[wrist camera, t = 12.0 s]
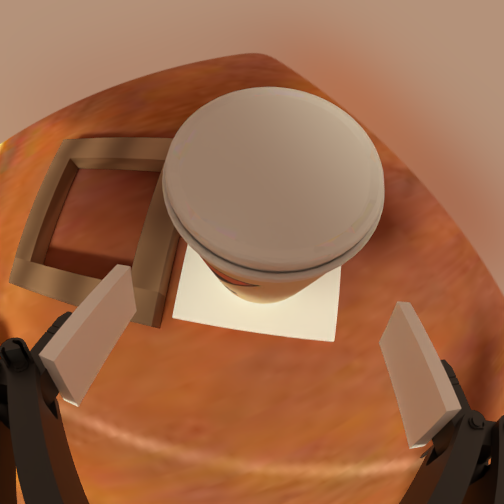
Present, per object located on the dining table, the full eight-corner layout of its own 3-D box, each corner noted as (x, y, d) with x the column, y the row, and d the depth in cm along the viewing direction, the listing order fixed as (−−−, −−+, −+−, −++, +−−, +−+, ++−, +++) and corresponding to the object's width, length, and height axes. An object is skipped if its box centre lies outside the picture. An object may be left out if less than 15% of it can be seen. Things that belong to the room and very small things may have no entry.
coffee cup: (188, 220, 23) (143, 113, 11) (295, 186, 24) (324, 72, 13) (225, 333, 20) (193, 315, 9) (342, 289, 21) (429, 225, 10)
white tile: (174, 318, 21) (172, 317, 20) (205, 180, 25) (204, 176, 24) (331, 341, 20) (334, 341, 20) (341, 200, 24) (343, 197, 24)
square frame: (21, 287, 21) (8, 282, 19) (71, 149, 26) (63, 139, 24) (159, 328, 21) (151, 326, 19) (202, 153, 26) (199, 139, 24)
